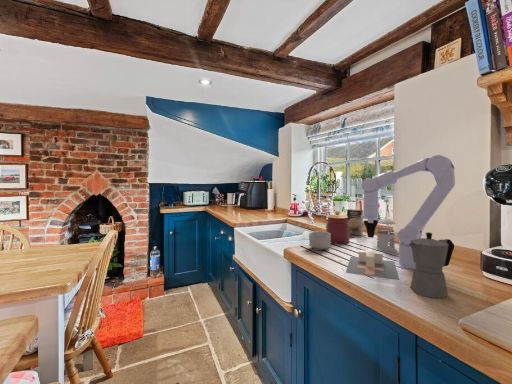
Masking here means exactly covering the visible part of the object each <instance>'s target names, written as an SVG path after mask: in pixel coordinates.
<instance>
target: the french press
mask: <svg viewBox="0 0 512 384" xmlns="http://www.w3.org/2000/svg"><path fill="white" fill-rule="evenodd" d="M383 202H384V203H388V202H389V200H388V199H384V200H383ZM377 221H378V224H381V225H386V227H387V228H378V229H377V232H376V237H377V239H376V241H377V242H376V244H377V245H376V247H375V248H374V249H375V250H376V251H377V250H380V251H381V252H382V251H383V252H397V251H398V250H397V249H396V244H395V243H396V240H395V239H396V238H395V236H396V234H395V233H394V232H395V230H394V227H393V225H395V224H396V222H395V221H394V220H391V219H389V218H383V219H379V220H377ZM391 228H392V229H391Z"/></svg>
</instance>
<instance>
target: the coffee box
mask: <svg viewBox="0 0 512 384" xmlns="http://www.w3.org/2000/svg"><path fill="white" fill-rule="evenodd" d="M346 216H347V217H348V218H347V219H348V220H349V221H350V222H349V227H350V228H349V234H354V235H353V236H358V235H361V236H363V231H364V230H363V227H364V226H363V224H364V218H361V216H364V209H353V208H352V209H351V208H349V209H347V210H346Z"/></svg>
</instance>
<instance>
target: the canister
mask: <svg viewBox="0 0 512 384" xmlns="http://www.w3.org/2000/svg"><path fill="white" fill-rule="evenodd" d="M326 217H327V219H326V220H325V222H326V225H325V232H328V233H330V234H331V235H330V236H331V243H332V244H347V243H350V239H351V238H350V235H349V228H350V227H349V222H350V221H349V220H348V219H347V218H348V217H347V214H344V213H341V211H340V210H336V211H335V213H330V214H329V215H327V216H326Z"/></svg>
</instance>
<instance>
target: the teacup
mask: <svg viewBox="0 0 512 384" xmlns="http://www.w3.org/2000/svg"><path fill="white" fill-rule="evenodd" d="M330 235H331V234H330V233H328V232H326V231H319V230H318V231H316V230H315V231H313V232H312V231H311V232H308V240H309V246H310V247H312V249H313V250H315V249H316V250H317V251H326V250H327V249H328V248H330V247H331V236H330Z"/></svg>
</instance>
